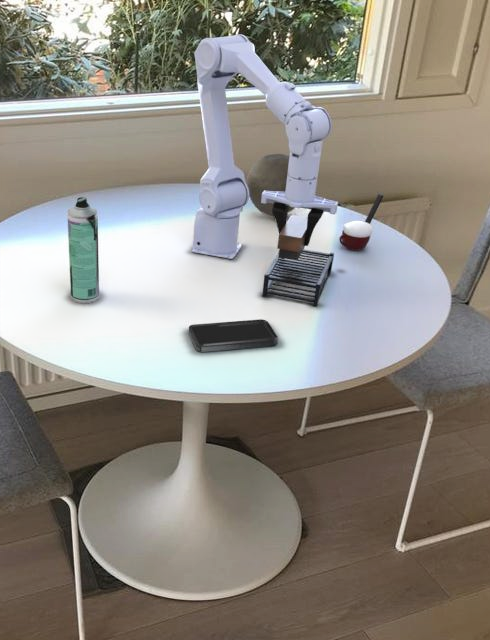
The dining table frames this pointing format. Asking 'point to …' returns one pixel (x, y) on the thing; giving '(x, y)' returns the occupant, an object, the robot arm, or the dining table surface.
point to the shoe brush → (292, 238)
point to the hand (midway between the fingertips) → (294, 241)
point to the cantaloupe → (268, 179)
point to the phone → (232, 335)
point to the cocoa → (359, 230)
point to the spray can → (83, 252)
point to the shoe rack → (299, 275)
